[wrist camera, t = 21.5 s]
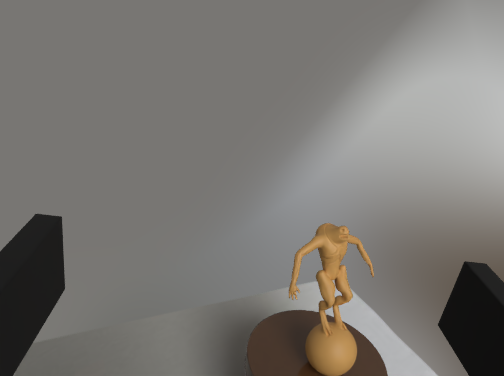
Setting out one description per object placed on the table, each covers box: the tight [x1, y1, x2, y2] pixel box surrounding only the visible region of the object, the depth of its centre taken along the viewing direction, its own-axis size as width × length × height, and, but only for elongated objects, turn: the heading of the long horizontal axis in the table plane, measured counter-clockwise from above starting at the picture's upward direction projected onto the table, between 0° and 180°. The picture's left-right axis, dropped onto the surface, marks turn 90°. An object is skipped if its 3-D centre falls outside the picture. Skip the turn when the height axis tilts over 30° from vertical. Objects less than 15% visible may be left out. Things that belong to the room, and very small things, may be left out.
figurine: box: [289, 223, 374, 376], centre depth 32 cm, size 8×6×12 cm
